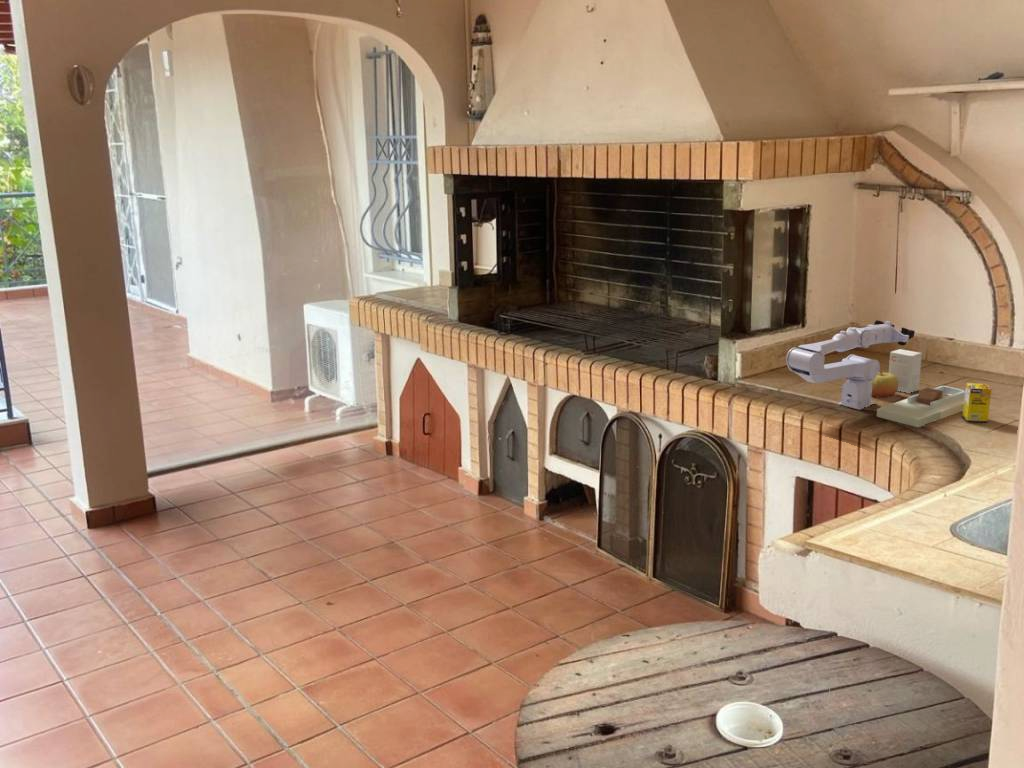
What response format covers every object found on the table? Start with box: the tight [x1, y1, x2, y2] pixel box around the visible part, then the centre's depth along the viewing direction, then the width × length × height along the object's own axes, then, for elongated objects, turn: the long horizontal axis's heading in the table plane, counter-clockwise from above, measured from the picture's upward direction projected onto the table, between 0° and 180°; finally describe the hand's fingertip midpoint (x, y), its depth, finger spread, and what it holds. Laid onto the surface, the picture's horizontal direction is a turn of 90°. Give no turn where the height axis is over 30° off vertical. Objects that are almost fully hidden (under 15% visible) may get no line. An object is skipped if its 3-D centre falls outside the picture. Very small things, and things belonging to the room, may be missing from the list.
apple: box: [871, 371, 898, 398], centre depth 319 cm, size 10×10×8 cm
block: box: [918, 387, 943, 405], centre depth 302 cm, size 5×5×4 cm
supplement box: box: [961, 382, 992, 424], centre depth 292 cm, size 6×6×11 cm
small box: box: [888, 348, 923, 394], centre depth 324 cm, size 8×6×13 cm
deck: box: [876, 384, 965, 428], centre depth 302 cm, size 32×14×4 cm, turn 127°
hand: (903, 330), depth 316 cm, fingers open, 7 cm apart
